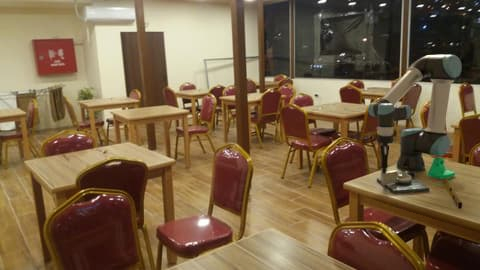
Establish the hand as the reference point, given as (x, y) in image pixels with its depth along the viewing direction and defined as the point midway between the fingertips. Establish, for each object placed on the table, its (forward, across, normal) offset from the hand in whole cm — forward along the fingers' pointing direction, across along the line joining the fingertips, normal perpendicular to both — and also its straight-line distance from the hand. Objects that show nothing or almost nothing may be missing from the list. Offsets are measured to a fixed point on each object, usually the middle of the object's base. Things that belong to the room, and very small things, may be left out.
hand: (383, 179), depth 200 cm
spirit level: (+4, +6, +30) cm, 31 cm away
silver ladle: (+1, -1, +6) cm, 6 cm away
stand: (+4, -2, +9) cm, 10 cm away
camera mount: (+4, -20, +31) cm, 37 cm away
